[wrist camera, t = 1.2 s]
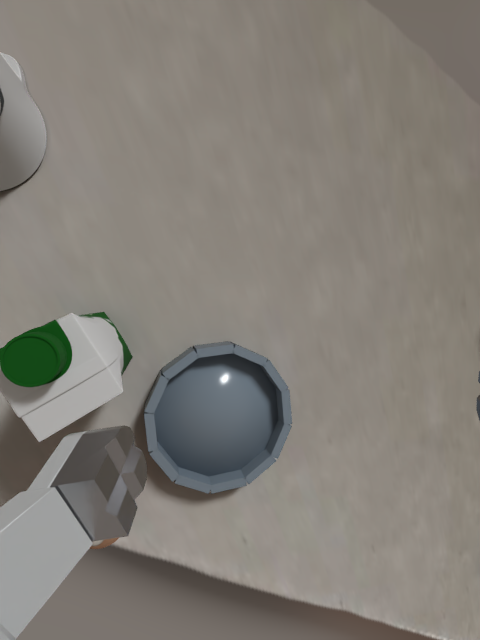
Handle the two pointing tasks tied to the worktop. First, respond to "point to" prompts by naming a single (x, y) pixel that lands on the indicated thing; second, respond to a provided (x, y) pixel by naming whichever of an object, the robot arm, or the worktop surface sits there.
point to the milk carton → (63, 371)
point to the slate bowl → (217, 417)
